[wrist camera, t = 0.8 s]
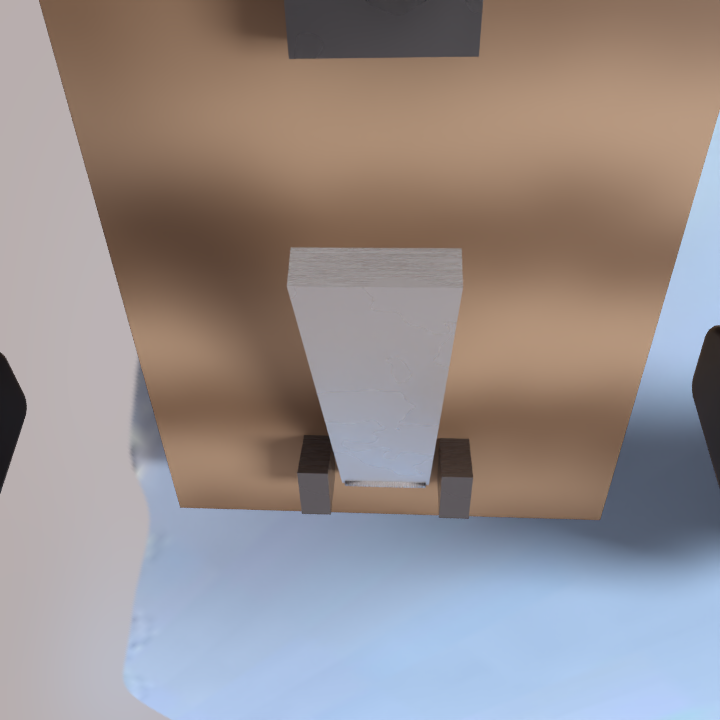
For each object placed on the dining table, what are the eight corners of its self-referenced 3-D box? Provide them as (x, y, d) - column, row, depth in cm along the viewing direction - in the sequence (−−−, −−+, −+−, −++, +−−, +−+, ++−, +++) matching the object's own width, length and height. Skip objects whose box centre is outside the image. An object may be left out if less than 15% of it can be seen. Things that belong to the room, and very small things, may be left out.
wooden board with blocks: (583, 462, 27) (600, 520, 25) (199, 452, 28) (180, 507, 26) (766, -273, 14) (839, -302, 12) (36, -243, 15) (-34, -263, 13)
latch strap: (428, 466, 24) (428, 491, 23) (344, 464, 24) (343, 488, 24) (461, 248, 12) (463, 292, 11) (290, 247, 12) (286, 290, 11)
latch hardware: (465, 479, 24) (468, 518, 23) (308, 474, 24) (301, 513, 23) (518, -44, 14) (530, -33, 13) (256, -38, 15) (239, -28, 13)
